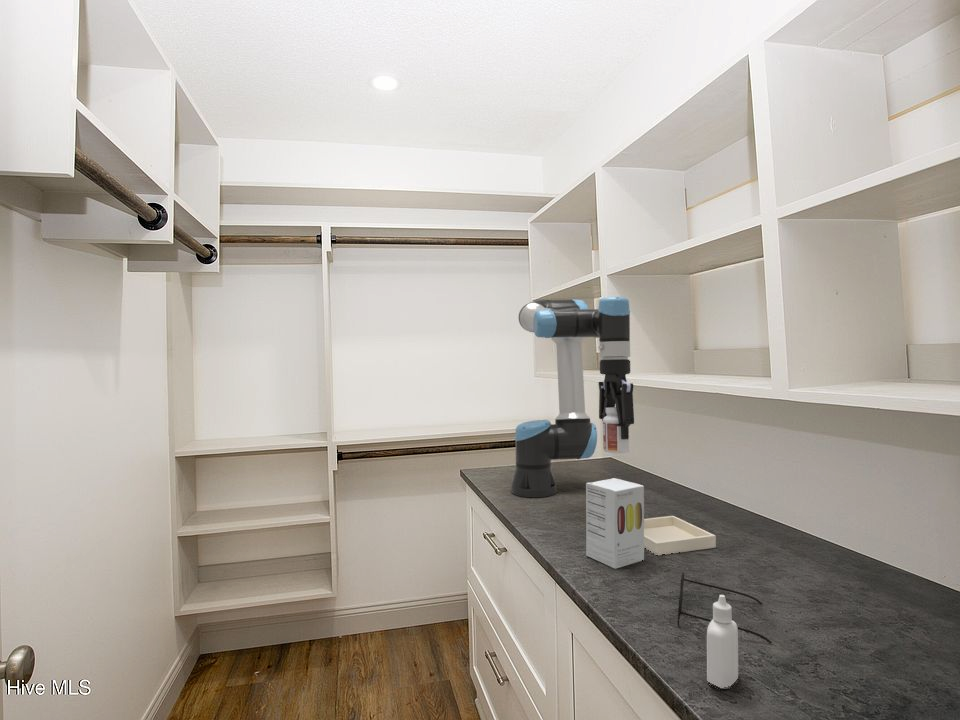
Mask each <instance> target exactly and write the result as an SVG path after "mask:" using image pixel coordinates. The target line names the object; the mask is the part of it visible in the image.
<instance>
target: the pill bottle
mask: <svg viewBox="0 0 960 720" xmlns="http://www.w3.org/2000/svg"><path fill="white" fill-rule="evenodd" d="M606 414H607V416H606V417H604V418H603V421H602V432H603V433H602V435H603V436H602V437H603V438H602V440H603V442H602V443H603V445H602V446H603V448H602V449H603V452H605V453H609V454H619V453H618V452H617V425H616V424H619V421H618V415H617V410H616V406H615V407H608V408H606ZM625 453H627V452H625ZM625 453H624V454H625Z"/></svg>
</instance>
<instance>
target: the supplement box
mask: <svg viewBox="0 0 960 720" xmlns="http://www.w3.org/2000/svg"><path fill="white" fill-rule="evenodd" d="M585 492H586V493H585V512H586V513H585V514H586V515H585V517H586V518H585V520H586V521H585V522H586V523H585V531H586V532H585V533H586V534H585V536H586V537H585V539H586V541H585V542H586V543H585V544H586V545H585V548H586V550H585V552H586V554H585V555H586V557H589V558H590V559H593V560H595V561H597V562H599V563H601V564H604V565H606V566H608V567H610V568H612V569H615V570H616V569H620V568H623V567H626V566H629V565H632V564H636V563H639V562H642V560H643V561H644V560H645V548H644V519H645V495H644V494H645V486H644V485H642V484H639V483H636V482H631V481H627V480H623V479H620V478H615V477H612V478H609V479H608V478H607V479H603V480H597V481H592V482H586V483H585Z"/></svg>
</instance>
